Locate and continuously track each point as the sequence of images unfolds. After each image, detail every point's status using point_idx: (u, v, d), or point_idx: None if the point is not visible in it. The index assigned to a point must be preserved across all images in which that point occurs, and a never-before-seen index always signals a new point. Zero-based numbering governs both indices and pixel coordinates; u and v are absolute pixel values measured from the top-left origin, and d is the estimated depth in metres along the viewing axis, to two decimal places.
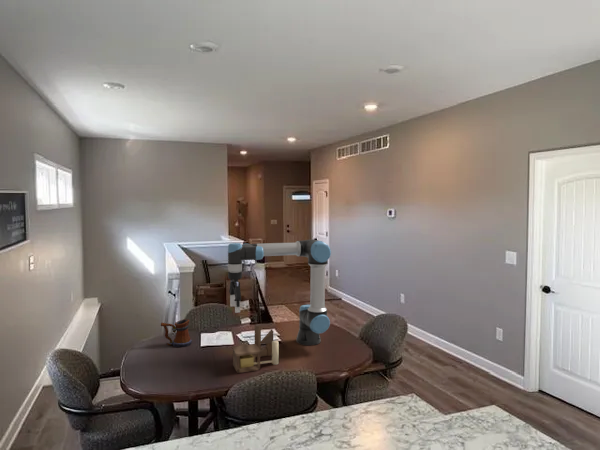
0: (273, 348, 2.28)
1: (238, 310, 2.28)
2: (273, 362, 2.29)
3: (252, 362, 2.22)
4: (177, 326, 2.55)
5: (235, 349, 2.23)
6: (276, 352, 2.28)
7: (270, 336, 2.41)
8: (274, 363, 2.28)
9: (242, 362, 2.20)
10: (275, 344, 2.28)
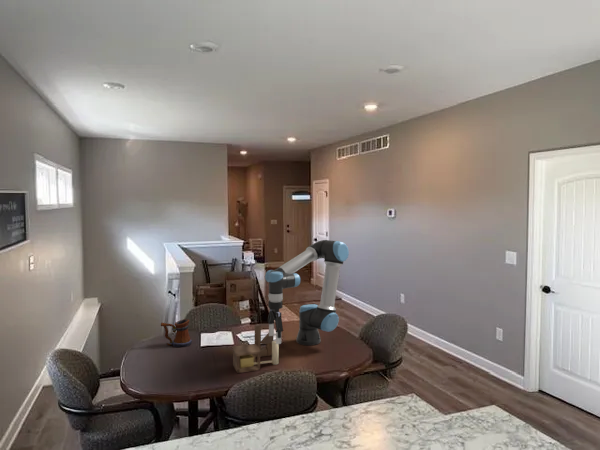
0: (273, 348, 2.28)
1: (279, 341, 2.22)
2: (273, 362, 2.29)
3: (252, 362, 2.22)
4: (177, 326, 2.55)
5: (235, 349, 2.23)
6: (276, 352, 2.28)
7: (270, 336, 2.41)
8: (274, 363, 2.28)
9: (242, 362, 2.20)
10: (275, 344, 2.28)
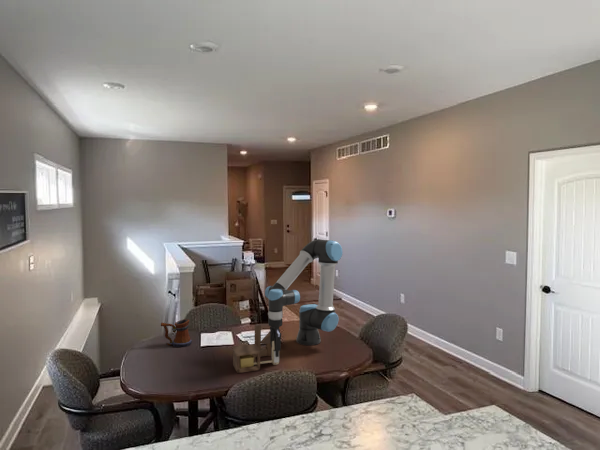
0: (273, 348, 2.28)
1: (277, 360, 2.28)
2: (273, 362, 2.29)
3: (252, 362, 2.22)
4: (177, 326, 2.55)
5: (235, 349, 2.23)
6: None
7: None
8: (274, 363, 2.28)
9: (242, 362, 2.21)
10: None
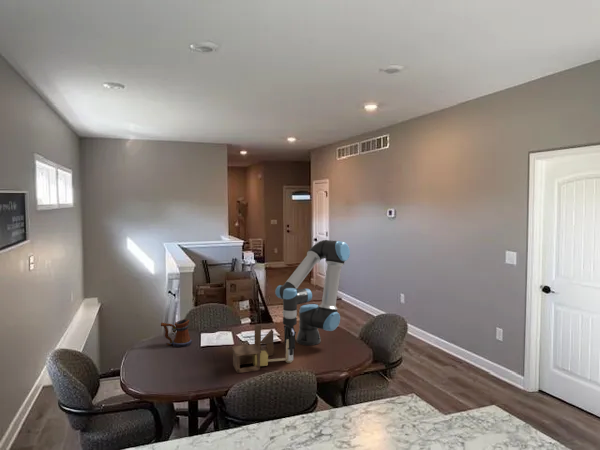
0: (287, 346, 2.31)
1: (291, 358, 2.31)
2: (287, 360, 2.31)
3: (266, 359, 2.25)
4: (177, 326, 2.55)
5: (235, 349, 2.23)
6: None
7: (270, 336, 2.41)
8: (288, 361, 2.31)
9: (256, 358, 2.23)
10: None
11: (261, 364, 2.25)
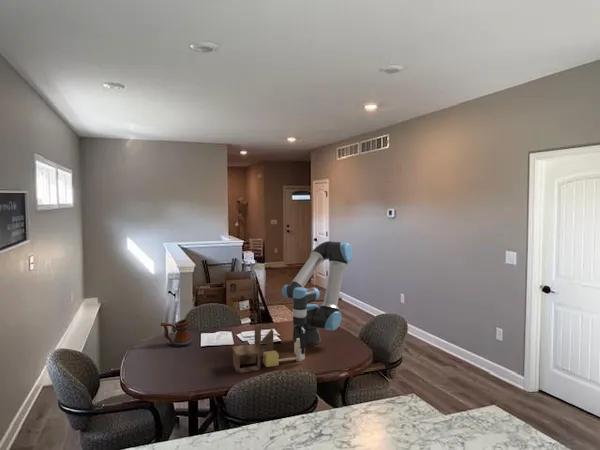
0: (297, 345, 2.33)
1: (303, 357, 2.30)
2: (297, 359, 2.33)
3: (277, 359, 2.27)
4: (177, 326, 2.55)
5: (235, 349, 2.23)
6: None
7: (270, 336, 2.41)
8: (298, 360, 2.33)
9: (267, 359, 2.25)
10: (299, 341, 2.33)
11: (272, 364, 2.27)
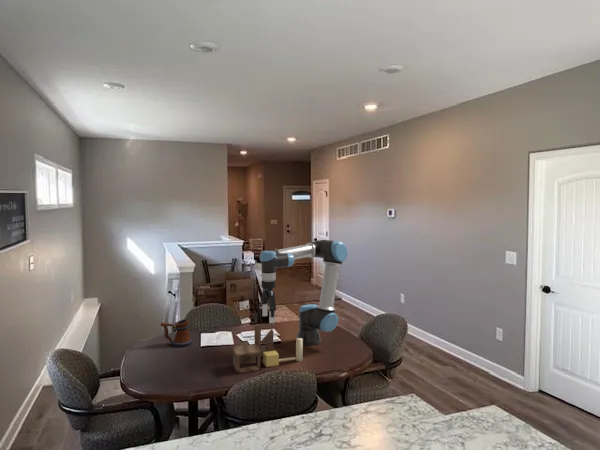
0: (297, 345, 2.33)
1: (272, 320, 2.20)
2: (297, 359, 2.33)
3: (277, 359, 2.27)
4: (177, 326, 2.55)
5: (235, 349, 2.23)
6: (300, 349, 2.33)
7: (270, 336, 2.41)
8: (298, 360, 2.33)
9: (267, 359, 2.25)
10: (299, 341, 2.33)
11: (272, 364, 2.27)
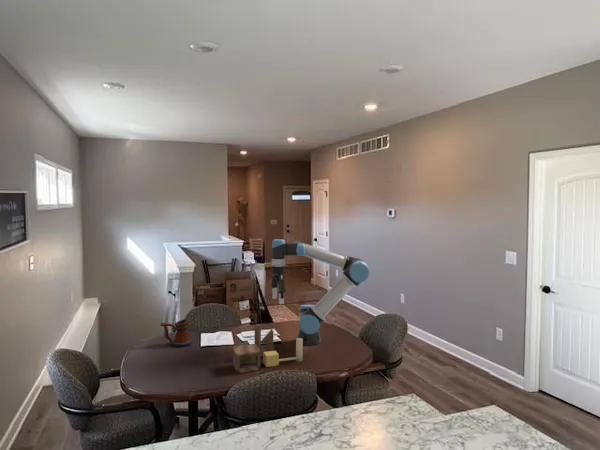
0: (297, 345, 2.33)
1: (282, 302, 2.44)
2: (297, 359, 2.33)
3: (277, 359, 2.27)
4: (177, 326, 2.55)
5: (235, 349, 2.23)
6: (300, 349, 2.33)
7: (270, 336, 2.41)
8: (298, 360, 2.33)
9: (267, 359, 2.25)
10: (299, 341, 2.33)
11: (272, 364, 2.27)
